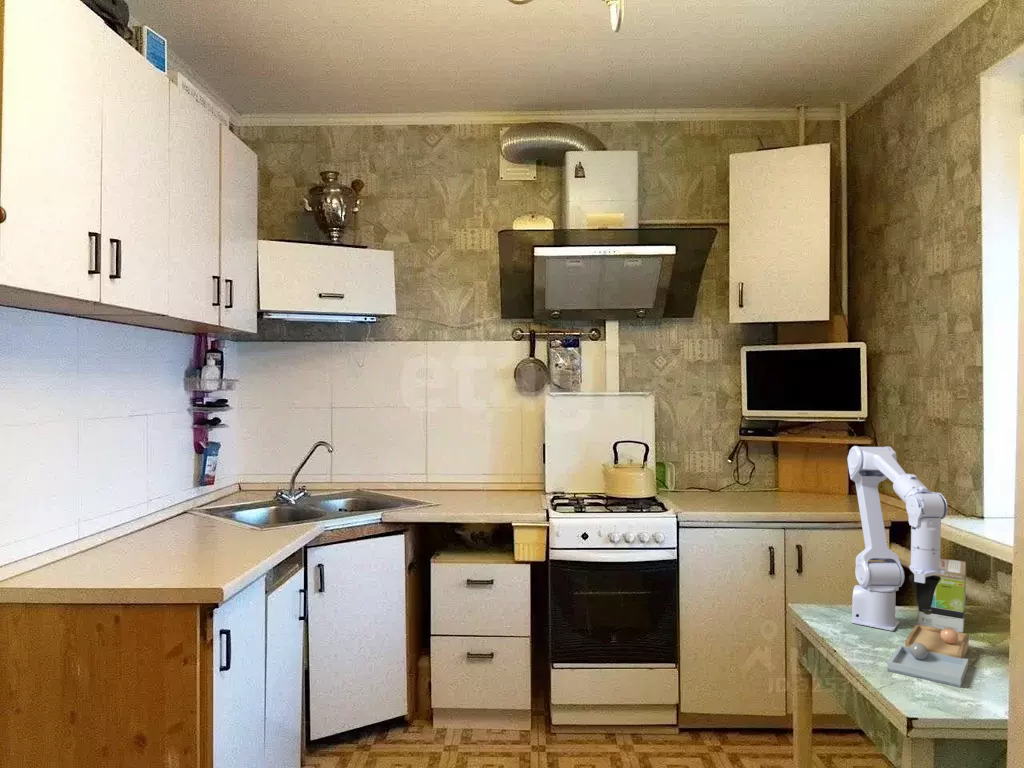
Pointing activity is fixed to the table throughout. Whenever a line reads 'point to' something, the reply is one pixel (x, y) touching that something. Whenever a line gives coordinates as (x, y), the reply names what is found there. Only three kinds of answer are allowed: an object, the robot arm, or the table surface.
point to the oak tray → (938, 641)
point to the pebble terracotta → (949, 635)
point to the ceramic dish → (929, 666)
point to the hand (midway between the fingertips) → (924, 608)
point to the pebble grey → (918, 651)
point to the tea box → (947, 598)
